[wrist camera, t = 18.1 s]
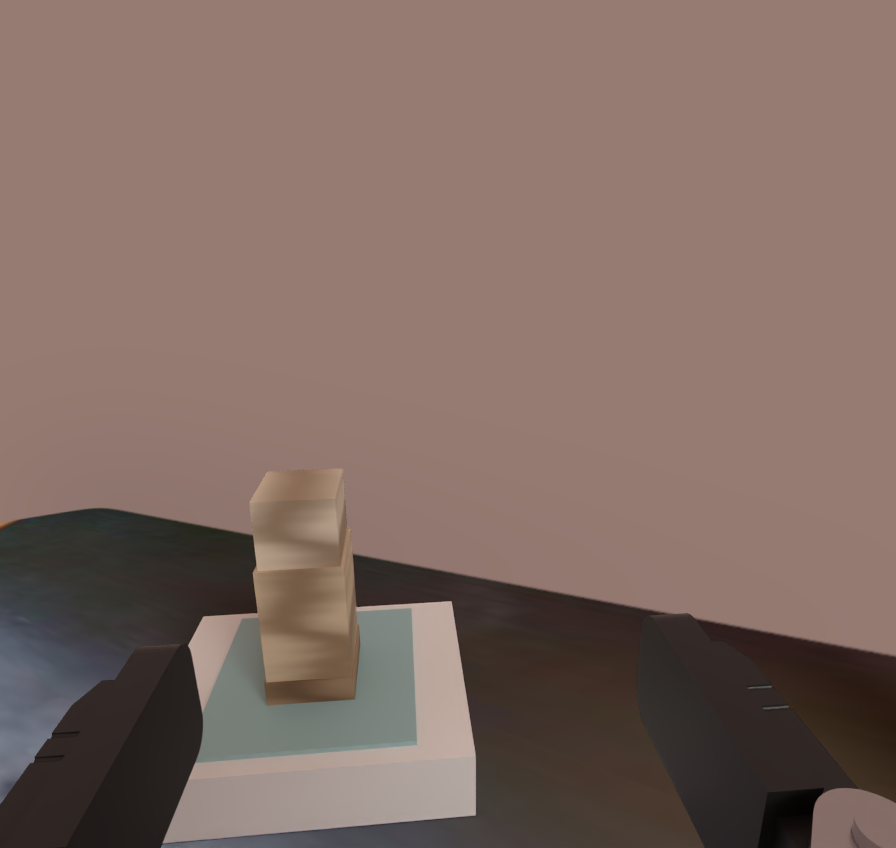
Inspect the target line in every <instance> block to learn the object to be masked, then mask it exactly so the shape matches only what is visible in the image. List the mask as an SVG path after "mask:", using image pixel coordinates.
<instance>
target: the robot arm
mask: <svg viewBox="0 0 896 848" xmlns="http://www.w3.org/2000/svg"><path fill="white" fill-rule="evenodd" d="M637 700H638V705H639V710H640V714H641V717H642V720H643V723H644V725H645V727H646V729H647V731H648V733H649V735H650V737H651V739H652V741H653V743H654V745H655V747H656V749H657V751H658V753H659V756H660V758H661V760H662V762H663V764H664V766H665V768H666V770H667V772H668V774H669V776H670V778H671V780H672V782H673V784H674V786H675V788H676V790H677V792H678V794H679V796H680V798H681V800H682V802H683V804H684V806H685V808H686V810H687V812H688V814H689V816H690V818H691V820H692V822H693V824H694V826H695V828H696V830H697V832H698V835H699V837H700V839H701V841H702V843H703V845H704V847H705V848H896V803H894V802H892V801H890V800H888V799H886V798H884V797H881V796H879V795H876V794H874V793H871V792H868V791H863V790H859V789H858V788H857V787H856V785H855V784H854V783H853V782H852V781H851V779H850V778H849V777H848V776H847V775H846V773H845V772H844V771H843V770H842V768H841V767H840V766H839V765H838V764H837V762H836V761H835V760H834V759H833V758H832V756H831V755H830V754H829V753H828V752H827V750H826V749H825V748H824V747H823V746H822V744H821V743H820V742H819V741H818V739H817V738H816V737H815V736H814V735H813V733H812V732H811V731H810V730H809V729H808V727H807V726H806V725H805V724H804V723H803V721H802V720H801V719H800V718H799V717H798V715H797V714H796V713H795V712H794V710H793V709H789V707H788V703H787V702H786V701H785V700H784V698H783V697H782V696H781V695H780V694H779V692H778V691H777V690H776V689H773V688H772V684H771V683H770V681H769V680H768V679H767V678H766V677H765V675H764V674H763V673H762V672H761V671H760V669H759V668H758V667H757V666H756V665H755V663H754V662H753V661H752V660H751V659H749V658H748V657H746V656H745V655H744V654H742V653H741V652H739V651H738V650H736V649H735V648H733V647H732V646H730V645H729V644H728V643H726V642H725V641H717V642H712V641H711V639H710V638H709V637H708V636H707V634H706V633H705V632H704V630H703V629H702V628H701V626H700V625H699V624H698V623H697V621H696V620H695V619H694V618H693V616H691V615H690V614H688V613H687V614H669V615H653V616H646V617H645V618H644V620H643V623H642V630H641V641H640V653H639V664H638V676H637ZM202 735H203V714H202V708H201V703H200V697H199V692H198V687H197V681H196V676H195V670H194V665H193V659H192V654H191V651H190V648H189V647H188V645H187V644H173V645H157V646H142V647H139V648H137V649H136V650H135V651H134V652H133V654H132V655H131V657H130V658H129V660H128V661H127V663H126V664H125V666H124V667H123V669H122V670H121V672H120V673H119V675H118V676H117V678H116V679H115V680H105V681H101V682H100V683H99V684H98V685H96V686H95V687H94V688H93V689H91V690H90V691H89V692H88V693H86V694H85V695H84V696H83V697H82V698H80V699H79V700H78V701H77V702H75V703H74V704H73V705H72V706H71V707H70V709H69V710H68V712H67V713H66V714H65V716H64V717H63V719H62V720H61V721H60V723H59V724H58V725H57V727H56V728H55V730H54V731H53V732H52V737H51V739H47V741H46V742H45V743H44V745H43V746H42V748H41V749H40V750H39V752H38V753H37V755H36V756H35V761H34V763H30V764H29V766H28V767H27V768H26V770H25V771H24V773H23V774H22V775H21V777H20V778H19V779H18V781H17V782H16V784H15V785H14V786H13V788H12V789H11V791H10V792H9V793H8V795H7V796H6V798H5V799H4V800H3V802H2V803H1V804H0V848H161V846H162V843H163V841H164V838H165V836H166V833H167V831H168V828H169V826H170V823H171V821H172V819H173V816H174V814H175V811H176V809H177V806H178V804H179V801H180V799H181V796H182V794H183V791H184V789H185V787H186V784H187V782H188V779H189V777H190V774H191V772H192V769H193V767H194V764H195V762H196V759H197V757H198V754H199V751H200V747H201V742H202Z"/></svg>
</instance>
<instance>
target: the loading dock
mask: <svg viewBox="0 0 896 848" xmlns="http://www.w3.org/2000/svg"><path fill="white" fill-rule="evenodd" d="M356 612H357V624H359V631H360V653H359V663H358V673H357V684H356V694H355V699H354V700H340V701H326V702H311V703H297V704H283V705H269V706H267V702H266V694H265V686H264V683H265V680H266V675H265V667H264V659H263V651H262V643H261V635H260V627H259V619H258V613H253V614H237V615H220V616H204V617H203V619H202V620H201V622H200V624H199V626H198V628H197V630H196V632H195V634H194V636H193V638H192V639H191V641H190V643H189V645H188V647H189V648H190V651H191V654H192V659H193V665H194V670H195V676H196V681H197V687H198V692H199V697H200V703H201V708H202V714H203V735H202V742H201V747H200V751H199V754H198V757H197V759H196V762H195V764H194V767H193V769H192V772H191V774H190V777H189V779H188V782H187V784H186V787H185V789H184V791H183V794H182V796H181V799H180V801H179V804H178V806H177V809H176V811H175V814H174V816H173V819H172V821H171V823H170V826H169V828H168V831H167V833H166V836H165V838H164V841H163V843H173V842H184V841H195V840H206V839H217V838H229V837H240V836H251V835H262V834H273V833H284V832H296V831H307V830H318V829H329V828H340V827H351V826H363V825H374V824H385V823H396V822H407V821H419V820H430V819H441V818H452V817H463V816H474V815H476V755H475V748H474V742H473V736H472V729H471V723H470V716H469V710H468V704H467V697H466V691H465V684H464V678H463V672H462V665H461V659H460V653H459V646H458V640H457V633H456V627H455V621H454V614H453V608H452V601H449V602H433V603H416V604H400V605H384V606H367V607H356Z"/></svg>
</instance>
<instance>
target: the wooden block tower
mask: <svg viewBox="0 0 896 848" xmlns="http://www.w3.org/2000/svg"><path fill="white" fill-rule="evenodd" d="M344 492H345V491H344V478H343V469H321V470H298V471H273V472H267V474H266V475H265V477H264V478H263V480H262V482H261V484H260V485H259V487H258V489H257V490H256V492H255V494H254V495H253V497H252V499H251V500H250V502H249V505H250V513H251V520H252V529H253V538H254V546H255V554H256V562H257V565H256V567H255V570H254V572H253V578H254V586H255V595H256V603H257V611H258V619H259V627H260V635H261V643H262V651H263V659H264V667H265V675H266V680H265V683H264V686H265V694H266V702H267V706H269V705H283V704H297V703H311V702H326V701H340V700H354V699H355V694H356V684H357V673H358V663H359V653H360V631H359V624H357V612H356V597H355V583H354V568H353V553H352V539H351V528H347V519H346V506H345V493H344Z"/></svg>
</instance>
